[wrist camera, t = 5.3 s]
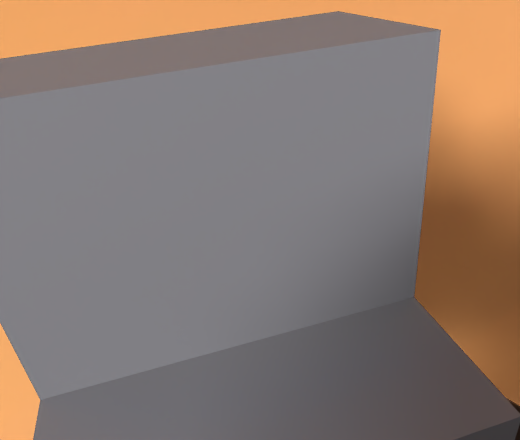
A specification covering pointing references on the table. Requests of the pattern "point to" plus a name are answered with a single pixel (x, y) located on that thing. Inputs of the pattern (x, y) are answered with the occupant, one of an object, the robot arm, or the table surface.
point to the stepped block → (230, 238)
